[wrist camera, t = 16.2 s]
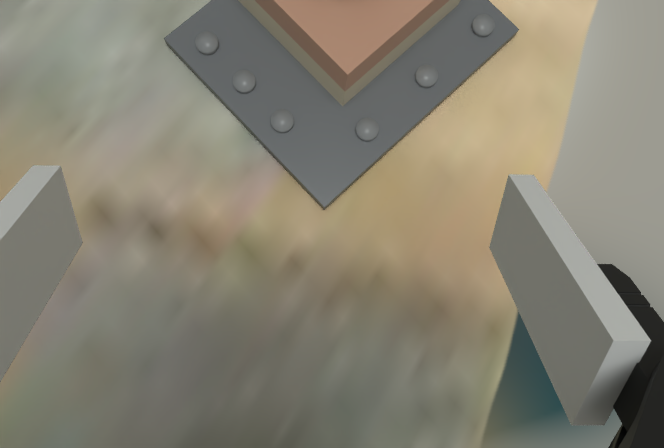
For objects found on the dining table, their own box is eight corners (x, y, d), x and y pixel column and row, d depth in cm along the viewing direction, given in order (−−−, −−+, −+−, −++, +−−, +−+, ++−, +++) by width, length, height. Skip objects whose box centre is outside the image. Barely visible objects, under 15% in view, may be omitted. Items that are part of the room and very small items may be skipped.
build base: (167, 45, 39) (142, -4, 33) (361, -110, 42) (369, -180, 36) (324, 210, 37) (326, 189, 31) (514, 36, 40) (549, -12, 34)
